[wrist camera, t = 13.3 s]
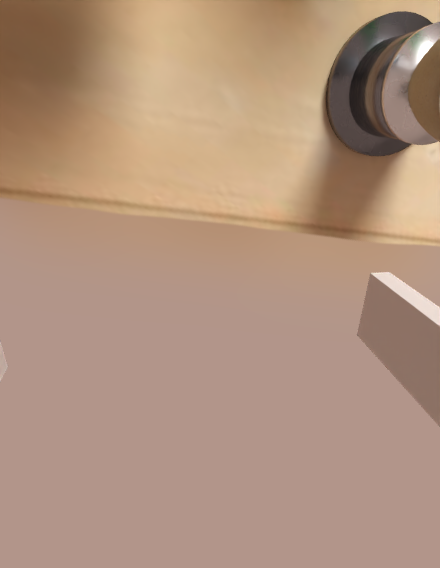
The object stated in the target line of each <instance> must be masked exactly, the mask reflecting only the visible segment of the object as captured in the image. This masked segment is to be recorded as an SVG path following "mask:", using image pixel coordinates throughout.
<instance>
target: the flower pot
mask: <svg viewBox="0 0 440 568" xmlns="http://www.w3.org/2000/svg"><path fill="white" fill-rule="evenodd" d="M408 100H409V104H410V108H411V110H412V112H413V114H414V116H415V118H416V120H417V121H418V123H419V124H420V125H421V126H422V127H423V129H424V130H425V131H426V132H427V133H428V134H430V135H431V136H432V137H433V138H435V139H436V140H438V141H439V142H440V38H439V39H438V40H437V41H436V42H435V43H434V44H433V45H432V47H431V48H430V49H429V50H428V51H427V52H426V53H425V55H424V56H423V57H422V59H421V60H420V62H419V63H418V65H417V66H416V68H415V70H414V72H413V74H412V76H411V79H410V82H409V86H408Z"/></svg>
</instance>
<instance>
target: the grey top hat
mask: <svg viewBox="0 0 440 568" xmlns="http://www.w3.org/2000/svg"><path fill="white" fill-rule="evenodd" d="M439 38H440V22H437V23H434V24H433V23H431V22H430V21H429V20H428V19H426V18H425V17H423V16H421V15H418V14H416V13H412V12H394V13H389V14H386V15H383V16H381V17H378V18H375V19H373V20H371V21H369V22H368V23H366V24H365V25H363V26H362V27H360V28H359V29H358V30H357V31H356V32H355V33H354V34H353V35H352V36H351V37H350V38H349V39H348V40H347V41H346V43H345V44H344V46H343V47H342V49H341V50H340V52H339V53H338V55H337V57H336V59H335V61H334V64H333V66H332V69H331V72H330V75H329V79H328V84H327V92H326V107H327V113H328V118H329V121H330V124H331V126H332V129H333V131H334V132H335V134H336V136H337V137H338V138H339V139H340V141H341V142H342V143H343V144H344V145H346V146H347V147H348V148H350V149H351V150H353V151H356V152H358V153H361V154H366V155H370V156H385V155H390V154H393V153H396V152H399V151H401V150H403V149H405V148H406V147H408V146H409V145H411V144H417V145H425V144H431V143H435V142H437V141H438V140H436V139H435V138H433V137H432V136H431V135H430V134H428V133H427V132H426V131H425V130H424V129H423V127H422V126H421V125H420V124H419V123H418V121H417V120H416V118H415V116H414V114H413V112H412V110H411V108H410V104H409V100H408V86H409V82H410V79H411V76H412V74H413V72H414V70H415V68H416V66H417V65H418V63H419V62H420V60H421V59H422V57H423V56H424V55H425V53H426V52H427V51H428V50H429V49H430V48H431V47H432V45H433V44H434V43H435V42H436V41H437V40H438V39H439Z"/></svg>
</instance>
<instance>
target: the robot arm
mask: <svg viewBox="0 0 440 568" xmlns="http://www.w3.org/2000/svg"><path fill="white" fill-rule="evenodd" d="M357 336H359V338H360V339H361V340H362V341H363V342H364V343H365V344H366V346H367V347H368V348H369V349H370V350H371V351H372V352H373V353H374V354H375V355H376V357H377V358H378V359H379V360H380V361H381V362H382V363H383V364H384V365H385V367H386V368H387V369H388V370H389V371H390V372H391V373H392V374H393V375H394V377H396V379H397V380H398V381H399V382H400V383H401V384H402V385H403V387H404V388H405V389H406V390H407V391H408V392H409V393H410V394H411V395H412V396H413V398H414V399H415V400H416V401H417V402H418V403H419V404H420V405H421V407H423V409H424V410H425V411H426V412H427V413H428V414H429V415H430V416H431V418H432V419H433V420H434V421H435V422H436V423H437V424H438V425H439V426H440V307H438V306H436V305H435V304H434V303H433V302H431V301H430V300H428V299H427V298H425V297H424V296H422V295H421V294H419V293H418V292H417V291H415V290H414V289H413V288H411V287H410V286H408V285H407V284H405V283H404V282H402V281H401V280H400V279H398V278H397V277H396V276H394V275H393V274H391V273H390V272H382V273H371V274H370V278H369V282H368V287H367V291H366V296H365V301H364V305H363V310H362V314H361V319H360V324H359V329H358V333H357ZM7 368H8V365H7V362H6V358H5V355H4V352H3V348H2V345H1V341H0V381H1V379H2V378H3V376H4V374H5V372H6V370H7Z"/></svg>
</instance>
